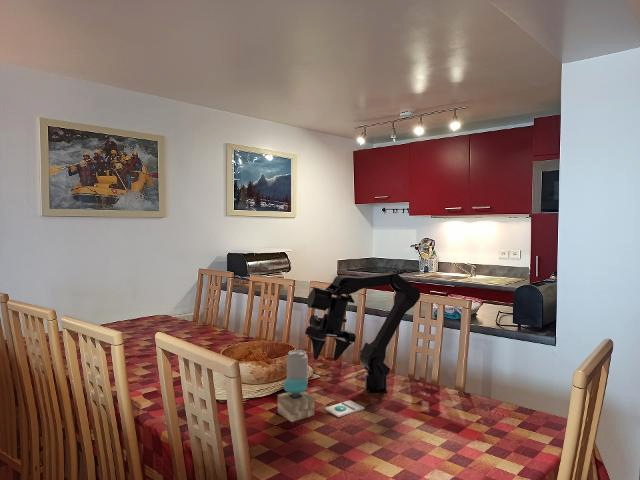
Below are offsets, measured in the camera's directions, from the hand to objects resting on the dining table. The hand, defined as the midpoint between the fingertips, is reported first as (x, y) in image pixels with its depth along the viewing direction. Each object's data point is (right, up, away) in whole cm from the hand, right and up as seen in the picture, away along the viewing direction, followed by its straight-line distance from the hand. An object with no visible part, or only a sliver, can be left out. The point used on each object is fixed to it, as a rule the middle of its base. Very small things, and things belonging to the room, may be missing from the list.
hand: (325, 359), depth 149 cm
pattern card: (+6, -13, -9) cm, 17 cm away
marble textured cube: (-9, -13, -12) cm, 20 cm away
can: (-10, -12, +12) cm, 20 cm away
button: (-9, -8, -12) cm, 17 cm away
